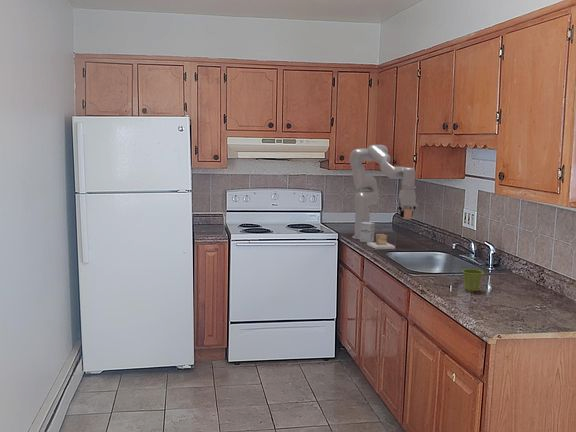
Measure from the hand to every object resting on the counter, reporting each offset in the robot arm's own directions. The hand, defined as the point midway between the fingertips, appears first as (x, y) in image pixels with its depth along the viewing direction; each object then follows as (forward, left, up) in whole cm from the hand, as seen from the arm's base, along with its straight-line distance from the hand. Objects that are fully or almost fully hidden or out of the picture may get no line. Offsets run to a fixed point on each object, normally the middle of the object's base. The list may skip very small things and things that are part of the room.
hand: (406, 216), depth 379 cm
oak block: (-4, -14, -18) cm, 23 cm away
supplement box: (-22, -17, -20) cm, 34 cm away
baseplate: (-4, -14, -19) cm, 24 cm away
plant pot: (+104, -14, -20) cm, 107 cm away
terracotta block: (0, 0, -1) cm, 1 cm away
